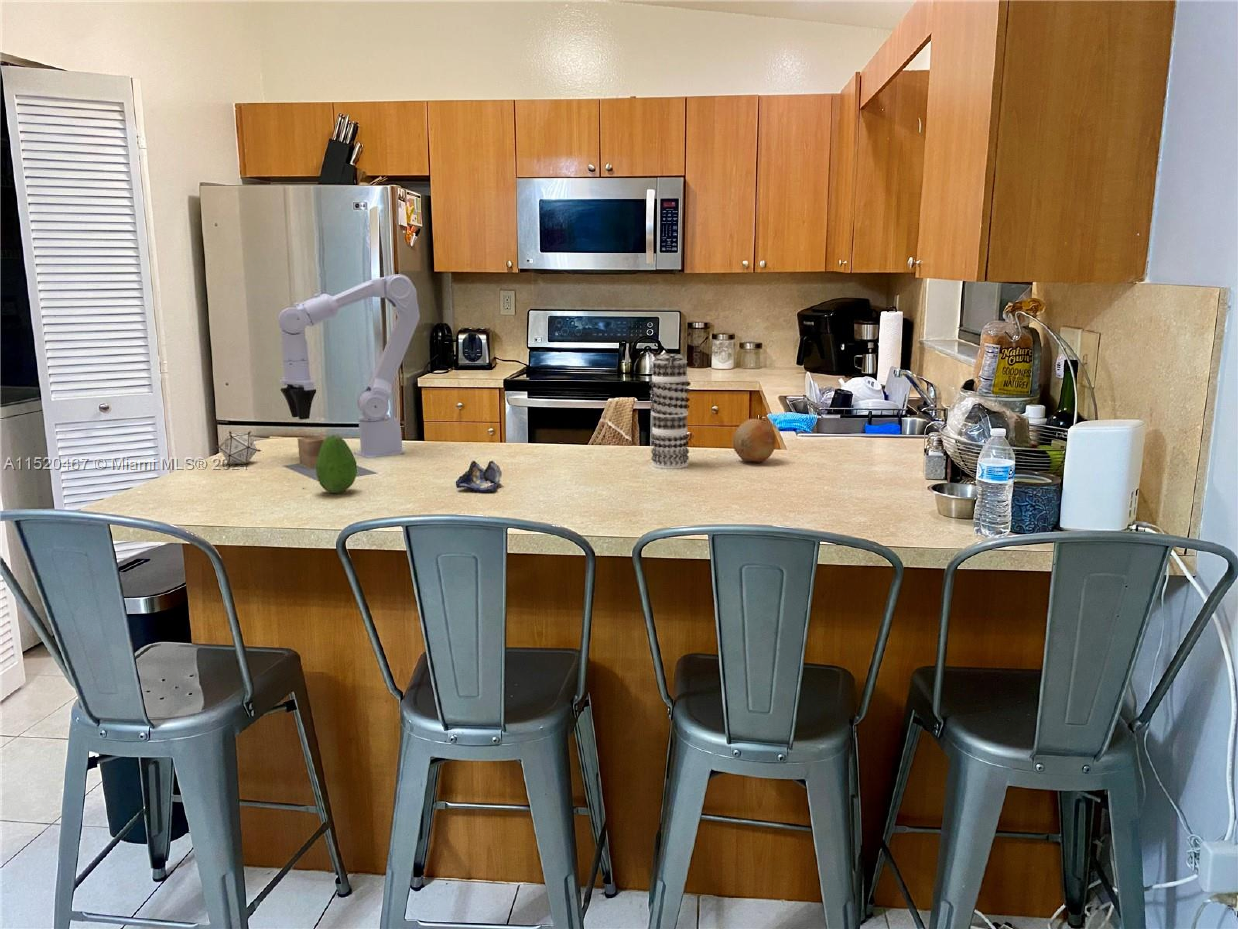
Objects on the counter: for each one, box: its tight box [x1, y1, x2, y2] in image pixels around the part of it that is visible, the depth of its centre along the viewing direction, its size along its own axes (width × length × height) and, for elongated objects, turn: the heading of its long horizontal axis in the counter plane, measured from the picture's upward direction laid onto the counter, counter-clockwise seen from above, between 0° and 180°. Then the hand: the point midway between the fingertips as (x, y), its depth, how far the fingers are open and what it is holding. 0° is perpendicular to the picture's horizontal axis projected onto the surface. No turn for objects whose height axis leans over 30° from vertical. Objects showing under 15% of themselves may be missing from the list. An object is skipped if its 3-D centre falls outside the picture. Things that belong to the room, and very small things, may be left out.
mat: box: [282, 462, 378, 482], centre depth 205 cm, size 13×23×1 cm, turn 40°
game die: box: [215, 430, 262, 467], centre depth 211 cm, size 9×8×10 cm
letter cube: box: [297, 434, 328, 469], centre depth 209 cm, size 6×6×6 cm
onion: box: [732, 418, 777, 464], centre depth 207 cm, size 10×10×10 cm
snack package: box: [455, 460, 503, 494], centre depth 187 cm, size 12×6×12 cm
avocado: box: [316, 434, 358, 494], centre depth 183 cm, size 8×8×12 cm
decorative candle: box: [648, 353, 692, 470], centre depth 204 cm, size 9×9×25 cm
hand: (300, 417), depth 214 cm, fingers open, 4 cm apart
